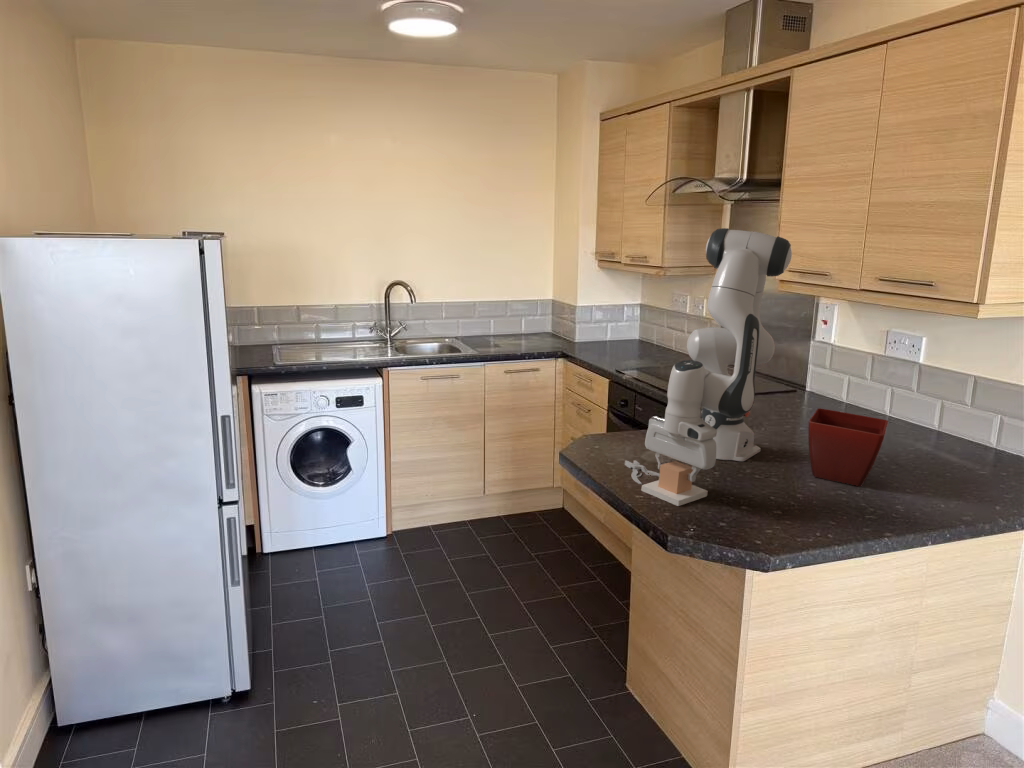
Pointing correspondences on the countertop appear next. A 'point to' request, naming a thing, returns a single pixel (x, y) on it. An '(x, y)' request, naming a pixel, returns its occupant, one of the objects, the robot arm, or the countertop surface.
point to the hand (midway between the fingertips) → (676, 475)
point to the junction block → (672, 497)
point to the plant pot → (844, 445)
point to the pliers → (636, 468)
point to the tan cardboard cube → (675, 477)
